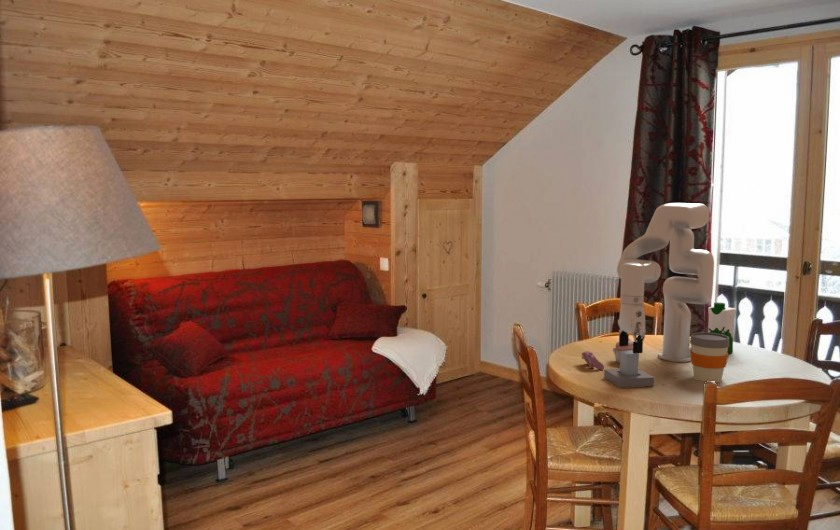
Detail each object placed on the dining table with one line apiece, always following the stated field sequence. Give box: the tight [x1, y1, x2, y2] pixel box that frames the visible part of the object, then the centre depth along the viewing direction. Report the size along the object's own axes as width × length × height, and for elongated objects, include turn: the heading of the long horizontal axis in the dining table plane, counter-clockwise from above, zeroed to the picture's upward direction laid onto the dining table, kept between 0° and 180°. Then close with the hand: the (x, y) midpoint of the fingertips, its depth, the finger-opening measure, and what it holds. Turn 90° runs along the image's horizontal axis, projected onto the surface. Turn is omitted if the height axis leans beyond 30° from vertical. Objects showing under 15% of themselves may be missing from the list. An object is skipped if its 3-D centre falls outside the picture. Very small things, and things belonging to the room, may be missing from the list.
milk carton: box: [707, 302, 737, 354], centre depth 272 cm, size 9×9×20 cm
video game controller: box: [581, 350, 605, 371], centre depth 251 cm, size 10×5×7 cm, turn 6°
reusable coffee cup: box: [690, 331, 729, 383], centre depth 236 cm, size 13×13×15 cm
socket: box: [603, 368, 655, 389], centre depth 232 cm, size 12×12×3 cm
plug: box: [619, 350, 640, 376], centre depth 232 cm, size 4×4×10 cm
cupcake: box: [612, 338, 634, 364], centre depth 257 cm, size 9×9×10 cm
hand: (630, 349), depth 231 cm, fingers open, 9 cm apart
